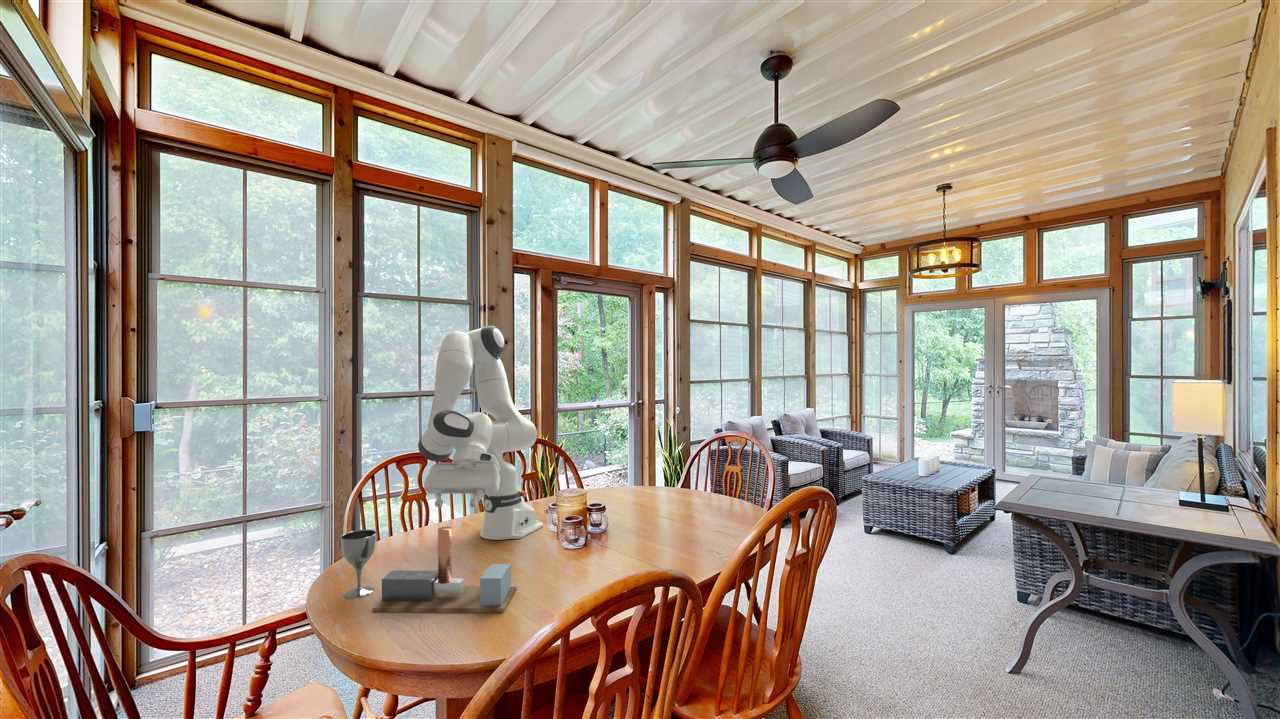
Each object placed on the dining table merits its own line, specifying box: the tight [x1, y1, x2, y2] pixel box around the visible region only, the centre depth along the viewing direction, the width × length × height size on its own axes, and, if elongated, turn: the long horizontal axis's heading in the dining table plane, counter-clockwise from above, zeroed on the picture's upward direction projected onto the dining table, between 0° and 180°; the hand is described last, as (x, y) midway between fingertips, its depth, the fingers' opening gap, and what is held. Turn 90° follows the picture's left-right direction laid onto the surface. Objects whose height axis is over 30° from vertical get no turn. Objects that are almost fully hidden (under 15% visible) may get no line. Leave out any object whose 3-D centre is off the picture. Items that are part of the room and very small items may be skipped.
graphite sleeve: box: [381, 569, 438, 602], centre depth 131 cm, size 12×5×5 cm, turn 89°
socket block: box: [479, 563, 512, 605], centre depth 131 cm, size 5×9×6 cm, turn 179°
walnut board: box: [372, 585, 517, 614], centre depth 131 cm, size 31×12×1 cm, turn 89°
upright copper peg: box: [432, 526, 466, 593], centre depth 131 cm, size 18×3×16 cm, turn 89°
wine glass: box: [340, 528, 377, 599], centre depth 136 cm, size 8×8×15 cm
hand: (455, 506), depth 141 cm, fingers open, 8 cm apart
